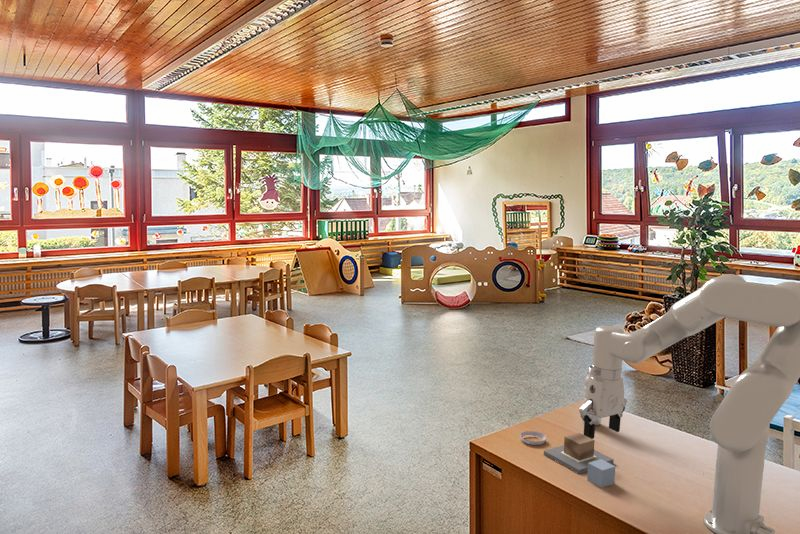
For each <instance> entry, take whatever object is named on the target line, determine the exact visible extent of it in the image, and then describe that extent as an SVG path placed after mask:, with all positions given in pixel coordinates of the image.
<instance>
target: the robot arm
mask: <svg viewBox="0 0 800 534" xmlns="http://www.w3.org/2000/svg"><path fill="white" fill-rule="evenodd" d="M724 318H726V319H731V320H735V321H736V320H737V321H742V322H746V323H752V324H758V325H763V326H767V327H774V328H775V327H776V329H775V331H774V332H773V334H772V336H771V337H770V338H769V340H768V341H767V343H766V344H765V347H764V348H763V350H762V351H761V353H760V354H759V355H758V357H757V358H756V359H755V361H754V362H753V363H752V364H751V365H750V366H748V367H747V368H746V369H744V370H743V371H742V372H741V373H740V375H738V377H737V378H736V379H735V380H734V382H733V384H732V385H731V387H730V388H729V390H728V391H727V393H726V395H725V396H724V398H723V399H722V401H721V402H720V404H719V405H718V406H717V408H716V410H715V412H714V413H713V414H712V416H711V419H710V421H709V432H710V435H711V437H712V439H713V441H714V442H715V444H717V449H716V450H717V451H716V461H715V473H714V487H713V494H712V495H713V497H712V506H711V507H712V509H711V510H709V511H707V512H705V513H704V517H703V522H704V524H705V526H706V527H707V528H708V529H709V530H710V531H711V532H713V533H715V534H776V533H775V532H776V529H775V528H772V527H770V526H767V525H766V524H765V523H764V521H765V517H764V516H763V515H760V510H761V509H760V508H761V501H762V500H761V499H762V491H763V490H762V488H763V487H762V486H763V478H764V477H763V476H764V469H765V468H764V467H765V458H766V449H767V444H768V439H769V433H770V426H771V425H770V424H771V423H772V421H773V420H774V418H775V417H776V416H777V414H778V412H779V411H780V410H781V408H782V406H784V404H785V403H786V402H787V400H788V399H789V398H790V395H791V394H792V392H793V390H794V387H795V385H796V384H797V382H798V381H799V379H800V282H796V281H783V282H781V283H778V284H775V285H767V284H761V283H760V284H759V283H753V282H748V281H746V280H745V278H743V277H741V276H740V275H737V274H733V273H725V274H722V275H718V276H717V277H713V278H711V279H709V280H708V281H706V282H705V283H704V284H703V285H702V286H701V287H700V288H698V289H696V290H695V291H693V292H692V293H689V294H688V295H686V296H684V297H683V298H681V299H680V300H677V301H676V302H675V303H673V304H672V305H671V306H670V308H669V310H668V311H667V312H665V313H664V314H663V315H661V316H659V317H658V318H656V319H654V320H653V321H652V322H650V323H648V324H646V325H645V326H643V327H641V328H638V329H637V330H634V331H631V332H624V330H623V328H620V327H619V326H613V325H601V326H597V327H596V328H595V330H594V337H593V350H592V361H591V363H592V364H591V366H592V371H591V378H590V381H589V385H588V391H587V397H586V403H585V404H584V403H583V404H582V405H581V406H580V407H579V409H578V411H579V415H580V418H581V420H582V419H583V421H584V422H583V421H582V422H583V424H584V425H583V426H584V427H583V435H585V436H587V437H589V438H591V439H593V440H595V434H596V426H595V424H593V423H594V422H595V420H596V419H597V417H599V418H602V419H603V418H608V417H609V419H608V420H609V421H608V428H609V429H610V430H612V431H614V432H616V433H619V432H620V428H621V419H622V417H623V413H624V412H625V411H626V406H627V403H628V399H627V398H625V388H624V387H625V386H624V379H623V377H622V372H623V371H622V370H623V361H625V362H628V363H629V364H638V363H639V364H640V363H642V362H644V361H646V360H647V359H649V358H651V357H653V356H656V354H659V353H661V352H662V351H664V350H665V349H667V348H669V347H671V346H672V345H675V344H676V343H678V342H680V341H682V340H683V339H685V338H687V337H690V336H691V337H692V336H694V335H696V334H697V333H698V334H699V332H700V333H701V331H703V330H705V329H707V328H709V327H710V326H712V325H714V324H715V323H717V322H720V321H721V320H723V319H724ZM590 415H593V416H592V418H591V419H590Z"/></svg>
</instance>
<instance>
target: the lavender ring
mask: <svg viewBox="0 0 800 534" xmlns="http://www.w3.org/2000/svg"><path fill="white" fill-rule="evenodd" d="M525 435H533V436H538V437H540V438H542V439H543V441H542V440H540V441H539V440H538V441H535V440H527V439H526V438H525V439H523V438H522V437H523V436H525ZM520 439H521V441H522V443H524V444H527V445H530V444H531V445H532V446H539V445H543V444H544V443H546V440H547V437H546V435H545V434H544V433H541V432H538V431H532V430H531V431H528V430H527V431H522V432H521V433H520ZM531 445H530V446H531Z"/></svg>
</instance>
